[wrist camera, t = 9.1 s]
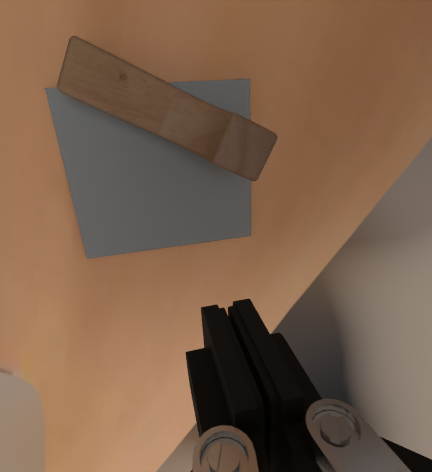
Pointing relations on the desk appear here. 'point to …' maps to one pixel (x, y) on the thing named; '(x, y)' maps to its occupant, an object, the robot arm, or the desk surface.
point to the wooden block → (164, 109)
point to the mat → (148, 178)
